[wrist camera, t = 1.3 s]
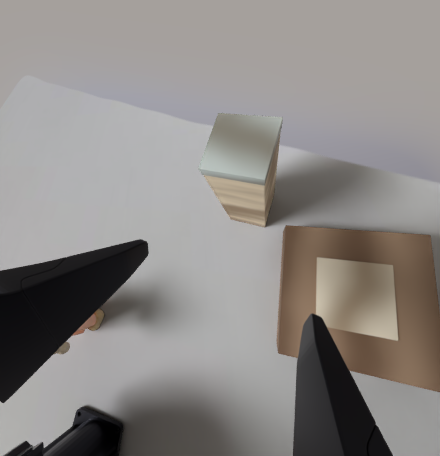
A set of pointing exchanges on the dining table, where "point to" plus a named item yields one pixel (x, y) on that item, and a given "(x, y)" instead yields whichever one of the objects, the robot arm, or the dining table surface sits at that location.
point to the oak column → (243, 164)
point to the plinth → (364, 300)
